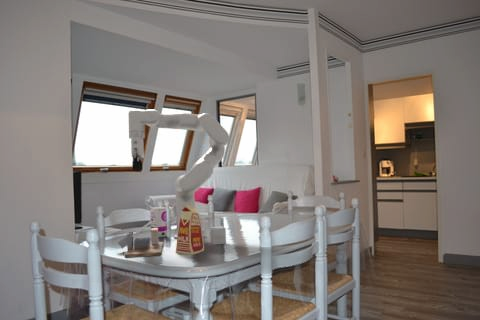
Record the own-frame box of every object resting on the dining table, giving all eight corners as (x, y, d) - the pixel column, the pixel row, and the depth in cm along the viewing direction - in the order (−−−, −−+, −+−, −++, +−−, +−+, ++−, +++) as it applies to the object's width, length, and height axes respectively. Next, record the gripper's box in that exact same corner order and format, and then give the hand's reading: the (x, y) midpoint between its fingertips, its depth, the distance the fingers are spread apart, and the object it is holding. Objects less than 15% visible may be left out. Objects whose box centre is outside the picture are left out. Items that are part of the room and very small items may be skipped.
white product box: (170, 235, 200) (169, 206, 200) (161, 238, 192) (161, 208, 192) (156, 234, 202) (155, 206, 203) (148, 237, 194) (147, 208, 195)
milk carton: (192, 254, 151) (190, 204, 151) (174, 252, 156) (173, 204, 156) (206, 250, 158) (204, 202, 159) (189, 248, 163) (187, 202, 164)
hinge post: (133, 247, 164) (133, 231, 164) (131, 249, 158) (131, 233, 159) (129, 247, 163) (128, 231, 164) (127, 250, 158) (127, 233, 158)
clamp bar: (153, 224, 164) (149, 218, 164) (153, 225, 161) (148, 219, 161) (123, 247, 162) (118, 241, 162) (122, 248, 159) (117, 242, 159)
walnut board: (163, 244, 174) (163, 241, 174) (160, 255, 152) (160, 252, 152) (131, 246, 172) (131, 243, 172) (124, 257, 149) (124, 254, 149)
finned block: (150, 245, 166) (149, 237, 166) (148, 249, 159) (148, 240, 159) (136, 246, 165) (135, 238, 165) (134, 250, 158) (133, 240, 158)
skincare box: (222, 241, 177) (222, 226, 177) (226, 244, 171) (225, 227, 171) (210, 242, 175) (209, 226, 175) (213, 245, 169) (212, 228, 169)
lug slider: (158, 243, 171) (157, 227, 171) (157, 245, 165) (157, 229, 165) (152, 243, 171) (151, 228, 171) (151, 246, 164) (150, 230, 165)
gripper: (142, 133, 178) (143, 169, 177) (146, 136, 195) (147, 169, 194) (125, 133, 177) (126, 170, 176) (132, 137, 194) (132, 170, 193)
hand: (137, 170), depth 185 cm, fingers open, 9 cm apart
